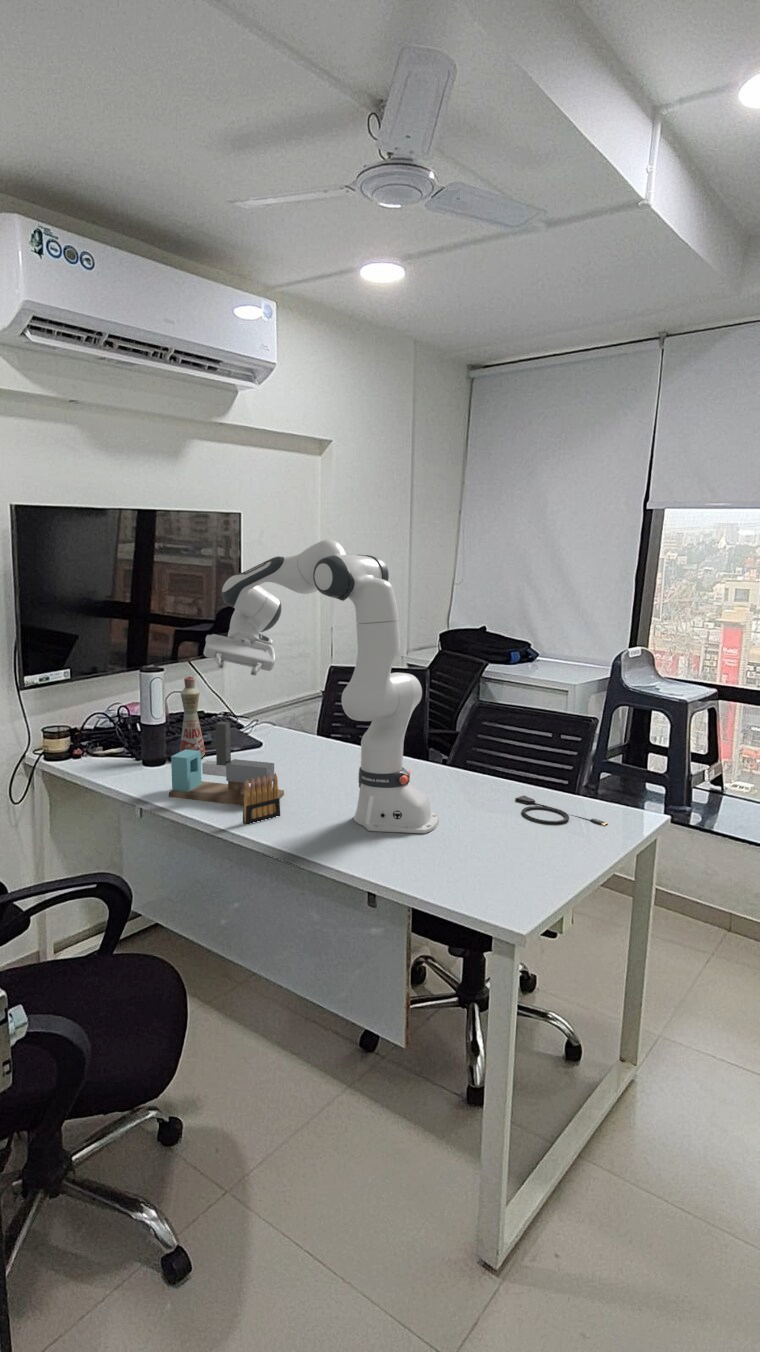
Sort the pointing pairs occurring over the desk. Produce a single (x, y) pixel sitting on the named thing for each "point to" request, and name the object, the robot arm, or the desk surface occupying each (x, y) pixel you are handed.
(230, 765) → the outer sleeve
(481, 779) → the desk surface
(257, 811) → the ammunition clip
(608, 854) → the desk surface
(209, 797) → the base board
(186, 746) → the bottle
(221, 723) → the dark grey upright post
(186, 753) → the socket block
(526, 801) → the cable
